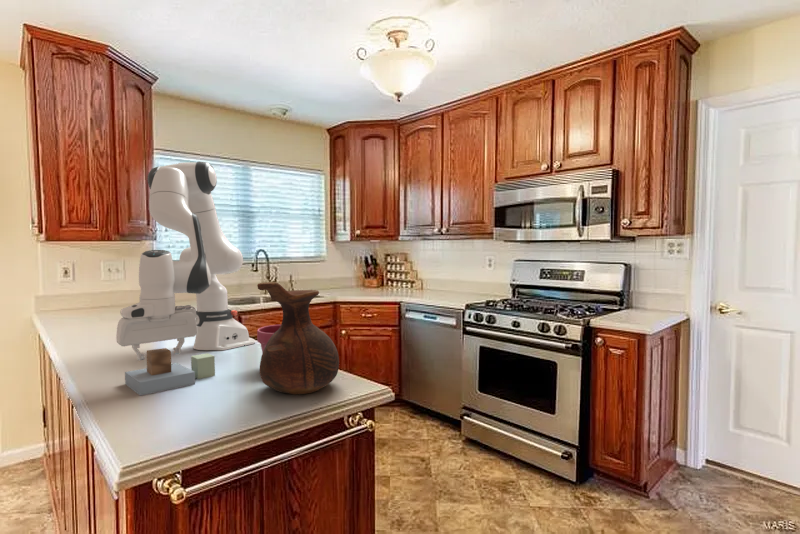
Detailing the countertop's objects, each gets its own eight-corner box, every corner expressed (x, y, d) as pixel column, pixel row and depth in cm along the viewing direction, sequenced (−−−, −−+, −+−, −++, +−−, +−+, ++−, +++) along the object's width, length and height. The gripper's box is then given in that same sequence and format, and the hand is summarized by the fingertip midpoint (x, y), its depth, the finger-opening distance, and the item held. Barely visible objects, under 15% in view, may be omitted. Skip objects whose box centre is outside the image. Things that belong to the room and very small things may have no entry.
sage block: (208, 372, 142) (207, 353, 141) (215, 375, 138) (214, 356, 138) (191, 375, 138) (191, 356, 138) (198, 379, 134) (197, 358, 134)
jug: (255, 381, 132) (253, 277, 130) (329, 373, 139) (328, 275, 138) (260, 406, 111) (258, 283, 110) (347, 395, 119) (346, 280, 118)
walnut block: (166, 368, 133) (165, 348, 133) (171, 372, 129) (171, 350, 129) (146, 371, 130) (146, 350, 129) (151, 375, 126) (151, 353, 126)
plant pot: (287, 376, 137) (287, 333, 136) (248, 372, 142) (247, 330, 141) (312, 364, 151) (311, 325, 150) (275, 360, 155) (274, 323, 154)
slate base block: (177, 375, 140) (177, 362, 139) (195, 385, 130) (194, 371, 129) (125, 385, 130) (124, 372, 130) (140, 397, 120) (139, 382, 120)
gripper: (191, 303, 138) (193, 348, 139) (113, 310, 124) (115, 361, 125) (200, 305, 134) (201, 352, 134) (119, 313, 119) (121, 365, 120)
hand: (159, 356), depth 129 cm, fingers open, 8 cm apart
